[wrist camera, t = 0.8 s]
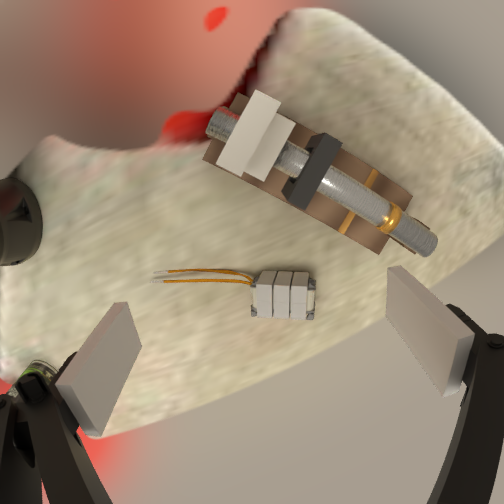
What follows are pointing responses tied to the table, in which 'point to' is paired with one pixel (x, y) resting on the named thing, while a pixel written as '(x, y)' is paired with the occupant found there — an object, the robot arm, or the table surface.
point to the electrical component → (272, 292)
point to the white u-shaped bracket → (256, 138)
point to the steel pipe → (341, 190)
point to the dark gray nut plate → (312, 170)
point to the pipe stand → (321, 204)
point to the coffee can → (38, 366)
